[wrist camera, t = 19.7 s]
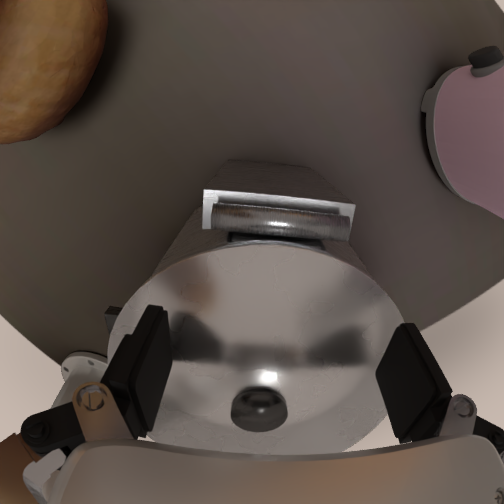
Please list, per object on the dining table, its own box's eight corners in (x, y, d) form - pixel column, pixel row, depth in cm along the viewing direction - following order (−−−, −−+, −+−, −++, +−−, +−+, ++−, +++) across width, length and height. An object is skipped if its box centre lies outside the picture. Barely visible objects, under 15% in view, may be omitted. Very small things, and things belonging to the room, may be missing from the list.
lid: (353, 453, 16) (359, 473, 14) (139, 442, 15) (132, 463, 14) (438, 227, 11) (462, 238, 9) (102, 195, 11) (78, 202, 9)
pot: (341, 339, 27) (370, 429, 17) (158, 325, 27) (122, 415, 17) (382, 179, 21) (467, 226, 11) (150, 156, 21) (68, 188, 11)
